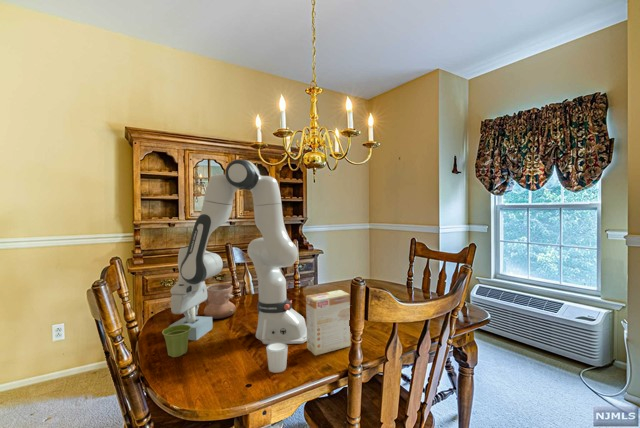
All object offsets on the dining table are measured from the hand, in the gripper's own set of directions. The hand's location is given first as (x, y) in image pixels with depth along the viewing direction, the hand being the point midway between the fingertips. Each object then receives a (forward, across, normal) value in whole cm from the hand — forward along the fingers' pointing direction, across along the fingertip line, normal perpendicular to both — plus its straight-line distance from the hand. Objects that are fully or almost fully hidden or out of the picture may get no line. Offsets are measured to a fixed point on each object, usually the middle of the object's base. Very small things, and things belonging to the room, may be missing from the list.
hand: (191, 317), depth 129 cm
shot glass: (+7, +21, +44) cm, 49 cm away
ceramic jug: (+7, -21, +1) cm, 22 cm away
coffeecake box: (+7, +4, +58) cm, 58 cm away
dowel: (+4, 0, 0) cm, 4 cm away
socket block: (+7, 0, 0) cm, 7 cm away
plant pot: (+7, +17, +5) cm, 19 cm away
